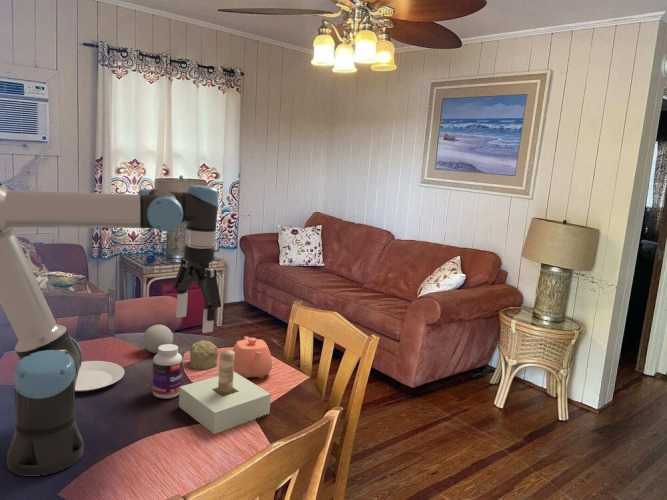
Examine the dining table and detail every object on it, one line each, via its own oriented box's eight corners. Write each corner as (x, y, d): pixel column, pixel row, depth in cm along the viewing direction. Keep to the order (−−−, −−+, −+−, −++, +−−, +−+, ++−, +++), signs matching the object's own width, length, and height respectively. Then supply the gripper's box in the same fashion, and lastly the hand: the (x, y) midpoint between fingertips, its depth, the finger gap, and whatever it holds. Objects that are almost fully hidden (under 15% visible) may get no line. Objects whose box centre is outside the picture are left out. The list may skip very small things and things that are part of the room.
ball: (178, 353, 181) (179, 326, 179) (153, 360, 173) (153, 332, 171) (162, 345, 187) (162, 318, 185) (136, 351, 179) (137, 324, 177)
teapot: (236, 390, 157) (238, 352, 155) (225, 364, 175) (226, 330, 173) (278, 386, 162) (281, 349, 160) (263, 361, 180) (265, 328, 178)
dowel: (222, 411, 141) (225, 356, 138) (214, 406, 144) (217, 352, 141) (234, 407, 144) (237, 353, 141) (226, 402, 147) (229, 349, 144)
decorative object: (218, 376, 173) (228, 348, 177) (200, 368, 165) (211, 338, 169) (197, 371, 178) (207, 344, 181) (179, 363, 170) (190, 334, 173)
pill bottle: (172, 402, 146) (174, 354, 144) (146, 397, 148) (147, 350, 145) (186, 390, 154) (187, 344, 151) (161, 385, 155) (162, 340, 153)
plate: (44, 401, 141) (44, 394, 141) (50, 370, 160) (50, 363, 159) (125, 393, 150) (125, 385, 149) (122, 364, 168) (123, 358, 168)
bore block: (213, 434, 132) (214, 412, 131) (179, 406, 144) (179, 386, 143) (269, 413, 144) (270, 393, 143) (233, 390, 157) (234, 371, 156)
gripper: (239, 254, 127) (232, 336, 131) (188, 236, 144) (183, 309, 148) (213, 256, 122) (206, 341, 125) (163, 237, 139) (158, 312, 142)
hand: (193, 324), depth 136 cm, fingers open, 13 cm apart
